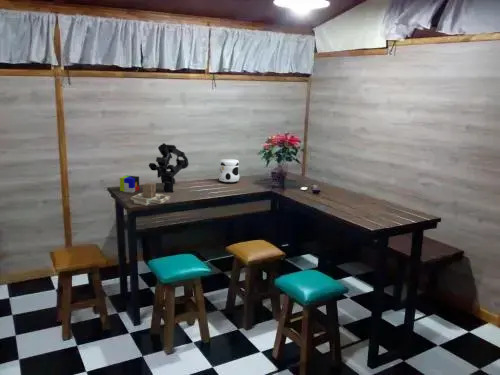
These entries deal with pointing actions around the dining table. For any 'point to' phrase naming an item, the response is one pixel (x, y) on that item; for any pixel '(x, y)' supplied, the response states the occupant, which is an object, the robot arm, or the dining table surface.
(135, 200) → the board
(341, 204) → the dining table surface
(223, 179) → the milk container
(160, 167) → the robot arm
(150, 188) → the walnut block
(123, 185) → the puzzle toy
